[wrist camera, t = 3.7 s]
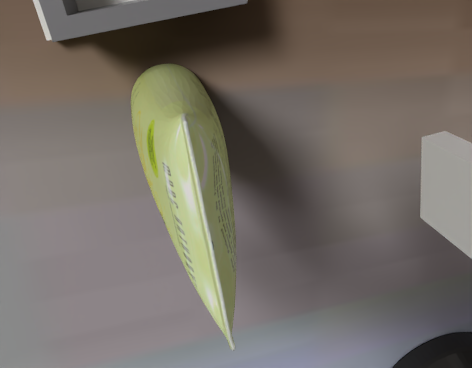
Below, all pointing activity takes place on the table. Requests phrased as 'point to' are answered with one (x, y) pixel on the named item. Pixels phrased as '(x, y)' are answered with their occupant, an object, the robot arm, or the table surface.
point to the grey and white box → (114, 14)
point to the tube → (189, 180)
